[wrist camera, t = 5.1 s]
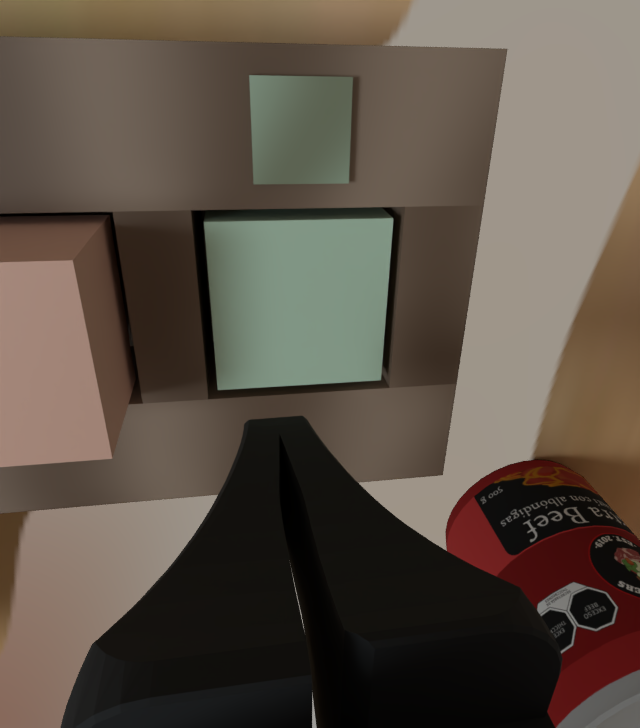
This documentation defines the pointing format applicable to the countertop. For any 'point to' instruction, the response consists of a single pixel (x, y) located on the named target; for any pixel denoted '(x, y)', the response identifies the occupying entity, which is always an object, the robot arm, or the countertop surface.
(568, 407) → the countertop surface
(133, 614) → the robot arm
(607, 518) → the canned food
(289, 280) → the key green
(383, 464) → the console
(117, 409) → the key terracotta
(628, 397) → the countertop surface
